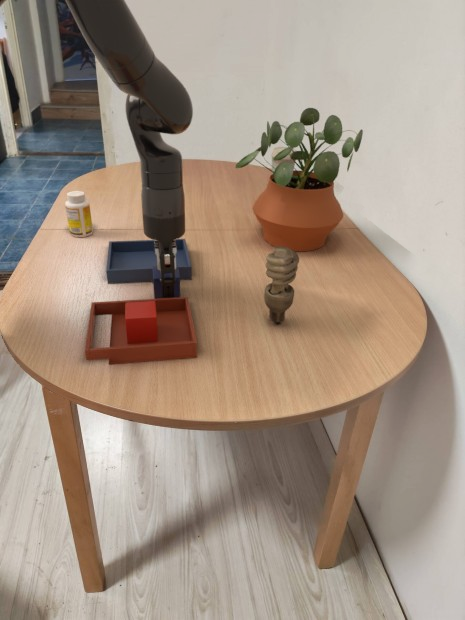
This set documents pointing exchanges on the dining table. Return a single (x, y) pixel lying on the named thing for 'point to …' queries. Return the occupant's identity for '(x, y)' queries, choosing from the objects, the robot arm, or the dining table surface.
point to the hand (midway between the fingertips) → (167, 287)
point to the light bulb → (280, 282)
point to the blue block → (158, 285)
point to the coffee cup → (286, 159)
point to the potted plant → (301, 184)
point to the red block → (141, 322)
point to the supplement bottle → (78, 214)
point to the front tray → (171, 342)
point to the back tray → (141, 261)
